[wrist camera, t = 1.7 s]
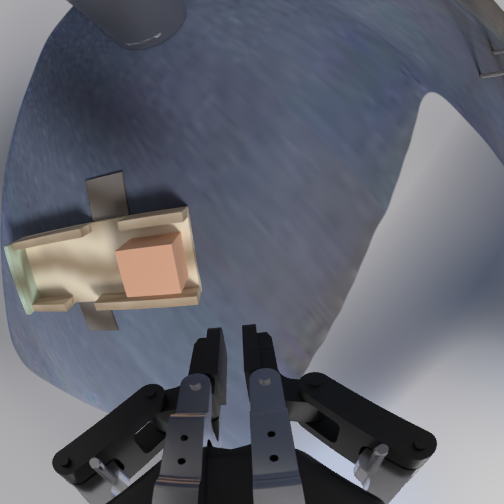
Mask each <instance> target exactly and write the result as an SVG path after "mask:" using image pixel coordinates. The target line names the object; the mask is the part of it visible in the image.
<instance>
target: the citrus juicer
mask: <svg viewBox="0 0 504 504" xmlns="http://www.w3.org/2000/svg"><path fill="white" fill-rule="evenodd" d="M500 53H504V49H498V50H494V51H493V54H500ZM501 75H504V70H503V71H496V72H489V73H483V74H480V77H481V78H487V77H494V76H501Z"/></svg>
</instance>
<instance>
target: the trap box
mask: <svg viewBox="0 0 504 504" xmlns="http://www.w3.org/2000/svg"><path fill="white" fill-rule="evenodd" d="M86 185H87V191H88V198H89V204H90V209H91V214H92V220H93V222H89V223H84V224H79V225H74V226H70V227H65V228H60V229H56V230H51V231H47V232H43V233H38V234H34V235H30V236H26V237H22V238H20V239H18V240H16V241H14V242H12V243H10V244H8V245H6V246H4V249H5V253H6V257H7V260H8V264H9V267H10V270H11V274H12V277H13V280H14V283H15V286H16V288H17V291H18V294H19V297H20V299H21V302H22V304H23V307H24V309H25V312H26V314H27V315H31V314H32V313H33V312H34V311H68V310H69V309H70V308H71V307H72V306H73V305H74V304H75V302H79V304H80V307H81V309H82V312H83V315H84V317H85V320H86V322H87V325H88V327H89V329H90V330H118V326H117V323H116V321H115V318H114V315H113V312H112V310H124V309H143V308H159V307H174V306H187V305H199V300H200V296H201V292H202V287H201V282H200V276H199V271H198V265H197V260H196V254H195V248H194V242H193V235H192V229H191V223H190V216H189V209H188V206H185V207H178V208H171V209H164V210H158V211H151V212H145V213H139V214H133V215H129V209H128V203H127V197H126V190H125V184H124V176H123V172H119V173H115V174H111V175H107V176H103V177H99V178H95V179H91V180H88V181H86ZM175 232H181V235H182V241H183V247H184V253H185V258H186V263H187V269H188V274H189V275H188V278H187V280H186V283H185V286H184V288H183V291H182V293H178V294H166V295H153V296H140V297H127V295H126V292H125V288H124V285H123V281H122V278H121V274H120V270H119V267H118V263H117V259H116V255H115V251H116V250H117V249H118V248H119V247H121V246H122V245H123V244H124V243H126V242H127V241H128V240H129V239H131V238H138V237H145V236H153V235H160V234H168V233H175Z"/></svg>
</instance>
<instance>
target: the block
mask: <svg viewBox="0 0 504 504" xmlns="http://www.w3.org/2000/svg"><path fill="white" fill-rule="evenodd" d="M115 255H116V259H117V263H118V267H119V270H120V274H121V278H122V281H123V285H124V288H125V292H126V295H127V297H140V296H153V295H166V294H178V293H182V291H183V288H184V286H185V283H186V280H187V278H188V275H189V274H188V269H187V263H186V258H185V253H184V247H183V241H182V235H181V232H175V233H168V234H160V235H153V236H145V237H138V238H131V239H129V240H128V241H127V242H126V243H124V244H123V245H122V246H121V247H119V248H118V249H117V250H116V251H115Z"/></svg>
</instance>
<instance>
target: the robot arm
mask: <svg viewBox="0 0 504 504" xmlns="http://www.w3.org/2000/svg"><path fill="white" fill-rule="evenodd" d="M67 1H68V2H69V3H70V4H72V5H73V6H74V7H75V8H77V9H78V10H79V11H80V12H82V13H83V14H84V15H85V16H86V17H88V18H89V19H90V20H91V21H92V22H93V23H95V24H96V25H97V26H98V27H99V28H100V29H102V30H103V31H104V32H105V33H106V34H107V35H108V36H110V37H111V38H112V39H113V40H114V41H115V42H116V43H118V44H119V45H120V46H121V47H124V48H126V49H131V50H141V49H146V48H150V47H153V46H156V45H158V44H160V43H162V42H164V41H165V40H166V39H168V38H169V37H171V36H172V35H173V34H174V33H175V32H176V31H177V30H178V29H179V28H180V26H181V25H182V23H183V21H184V19H185V15H186V7H185V4H184V1H183V0H67ZM242 333H243V355H244V372H245V378H246V384H247V390H248V396H249V401H250V406H251V411H250V429H251V444H250V445H246V446H243V447H239V448H235V449H223V448H221V415H220V405H226V384H227V352H226V346H225V341H224V336H223V331H222V328H208V330H207V337H206V338H199V339H198V340H197V342H196V343H195V344H194V348H193V353H192V359H191V364H190V369H189V374H188V376H187V377H185V378H184V379H183V380H182V382H181V385H180V386H178V387H176V388H172V389H168V390H164V389H163V387H161V386H160V385H157V384H149V385H146V386H144V387H142V388H141V389H139V390H138V391H137V392H136V393H134V394H133V395H132V396H131V397H129V398H128V399H127V400H126V401H124V402H123V403H122V404H121V405H119V406H118V407H117V408H115V409H114V410H113V411H112V412H110V413H109V414H108V415H107V416H105V417H104V418H103V419H101V420H100V421H99V422H97V423H96V424H95V425H94V426H92V427H91V428H90V429H88V430H87V431H86V432H84V433H83V434H82V435H80V436H79V437H78V438H76V439H75V440H74V441H72V442H71V443H70V444H68V445H67V446H66V447H64V448H63V449H61V450H60V451H59V452H57V453H56V454H55V456H54V458H53V461H52V464H53V467H54V469H55V471H56V472H57V473H59V474H60V475H61V476H62V477H64V478H65V479H66V481H67V482H68V483H70V484H71V485H73V486H74V487H75V488H76V489H77V490H78V491H79V492H80V493H81V494H82V496H83V497H84V498H85V499H86V500H87V501H88V502H89V504H388V503H389V502H390V501H391V500H392V499H393V498H394V496H395V495H396V494H397V493H398V492H399V491H400V489H401V488H402V487H403V486H404V485H405V484H406V483H407V482H408V481H409V480H410V479H411V478H412V477H413V476H414V475H415V474H416V473H417V472H418V470H419V469H420V468H421V467H422V466H423V465H424V464H425V463H426V461H427V460H428V459H429V458H430V457H431V455H432V454H433V453H434V452H435V450H436V446H437V441H436V438H435V436H434V435H433V434H432V433H430V432H428V431H426V430H424V429H422V428H420V427H418V426H416V425H414V424H412V423H410V422H408V421H406V420H404V419H402V418H400V417H398V416H397V415H395V414H393V413H391V412H389V411H387V410H385V409H383V408H382V407H380V406H378V405H376V404H374V403H373V402H371V401H369V400H367V399H365V398H364V397H362V396H360V395H358V394H357V393H355V392H353V391H351V390H350V389H348V388H346V387H344V386H343V385H341V384H339V383H338V382H336V381H335V380H333V379H331V378H330V377H328V376H326V375H325V374H322V373H318V372H312V373H308V374H305V375H304V376H302V377H301V378H300V380H299V379H290V378H286V377H284V376H283V375H281V374H280V373H279V371H278V368H277V363H276V357H275V352H274V347H273V342H272V337H271V336H270V335H269V334H268V333H267V332H263V333H257V332H256V324H252V325H242ZM149 421H150V422H149ZM290 421H296V422H298V423H299V424H300V425H301V426H302V427H303V428H305V429H306V430H307V431H308V432H310V433H311V434H313V435H314V436H315V437H317V438H318V439H319V440H321V441H322V442H323V443H325V444H326V445H328V446H329V447H330V448H332V449H333V450H335V451H336V452H337V453H339V454H340V455H342V456H343V457H345V458H346V459H348V460H349V461H351V462H352V463H354V464H355V467H354V475H355V477H356V478H357V479H358V480H359V481H360V482H361V483H362V485H363V489H362V488H360V487H359V486H357V485H355V484H353V483H351V482H350V481H348V480H347V479H345V478H343V477H342V476H340V475H339V474H337V473H335V472H334V471H332V470H331V469H329V468H328V467H326V466H324V465H323V464H321V463H320V462H318V461H317V460H316V459H314V458H313V457H311V456H310V455H308V454H306V453H305V452H303V451H300V450H298V449H295V447H294V442H293V436H292V431H291V425H290ZM148 422H149V423H148ZM147 423H148V424H147ZM146 424H147V425H146ZM144 425H146V426H145V427H143V426H144ZM142 427H143V428H142ZM141 428H142V429H141ZM140 429H141V430H140ZM139 430H140V431H139ZM138 431H139V432H138ZM136 432H138V433H137V434H136ZM163 448H164V450H163V456H162V460H160V461H159V462H158V463H157V464H156V465H155V466H153V467H152V468H151V469H150V470H149V471H147V472H146V473H145V474H144V475H142V476H141V477H140V478H139V479H138V480H136V481H135V482H134V483H133V484H131V485H130V478H131V477H132V476H134V475H135V474H136V473H137V472H138V471H139V470H140V469H141V468H142V467H144V466H145V465H146V464H147V463H148V462H149V461H150V460H151V459H152V458H153V457H154V456H155V455H156V454H158V452H160V451H161V450H162V449H163Z"/></svg>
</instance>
